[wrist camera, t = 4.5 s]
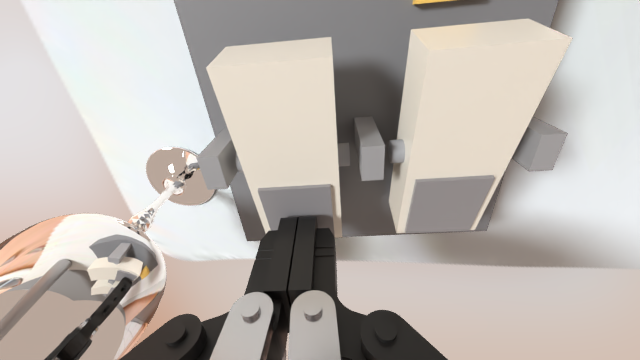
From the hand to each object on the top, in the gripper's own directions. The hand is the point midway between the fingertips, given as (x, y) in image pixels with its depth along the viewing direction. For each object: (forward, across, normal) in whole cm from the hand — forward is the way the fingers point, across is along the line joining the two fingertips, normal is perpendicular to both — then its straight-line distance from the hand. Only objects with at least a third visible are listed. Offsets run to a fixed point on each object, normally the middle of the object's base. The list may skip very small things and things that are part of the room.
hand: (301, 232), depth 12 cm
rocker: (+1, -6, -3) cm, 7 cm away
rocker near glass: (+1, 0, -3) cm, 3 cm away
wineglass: (+6, +8, 0) cm, 11 cm away
